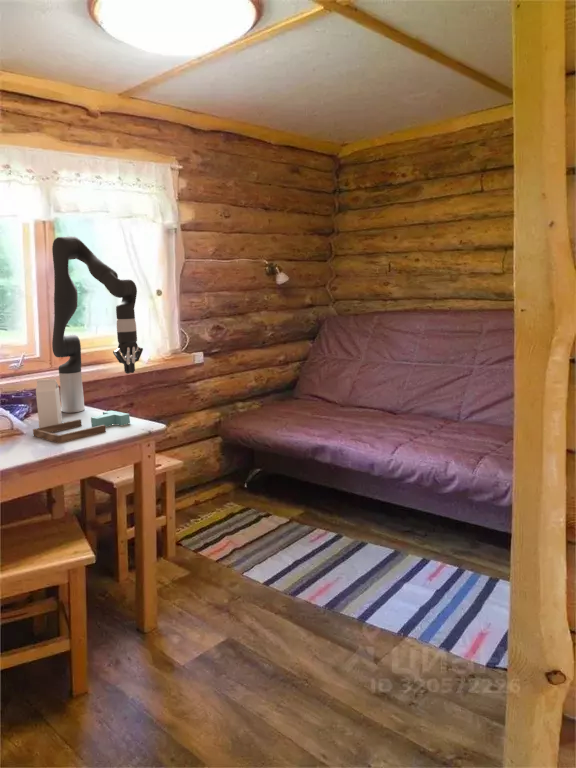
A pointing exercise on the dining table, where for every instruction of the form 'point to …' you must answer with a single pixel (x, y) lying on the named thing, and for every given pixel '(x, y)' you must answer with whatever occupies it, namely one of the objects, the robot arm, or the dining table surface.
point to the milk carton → (48, 402)
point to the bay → (49, 435)
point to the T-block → (110, 418)
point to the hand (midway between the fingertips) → (129, 372)
